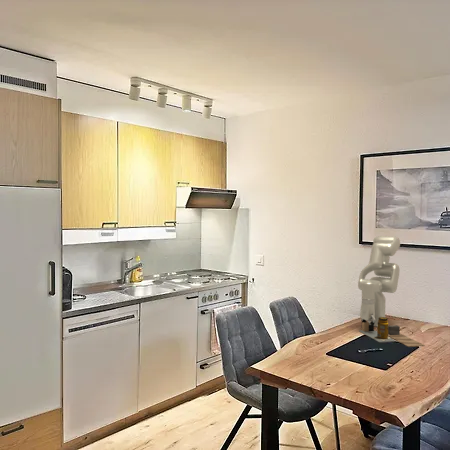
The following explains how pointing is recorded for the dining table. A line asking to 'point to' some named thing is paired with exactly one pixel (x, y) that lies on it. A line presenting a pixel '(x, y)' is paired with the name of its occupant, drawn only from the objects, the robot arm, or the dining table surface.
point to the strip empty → (401, 337)
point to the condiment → (382, 329)
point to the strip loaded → (372, 333)
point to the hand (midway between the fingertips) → (367, 329)
